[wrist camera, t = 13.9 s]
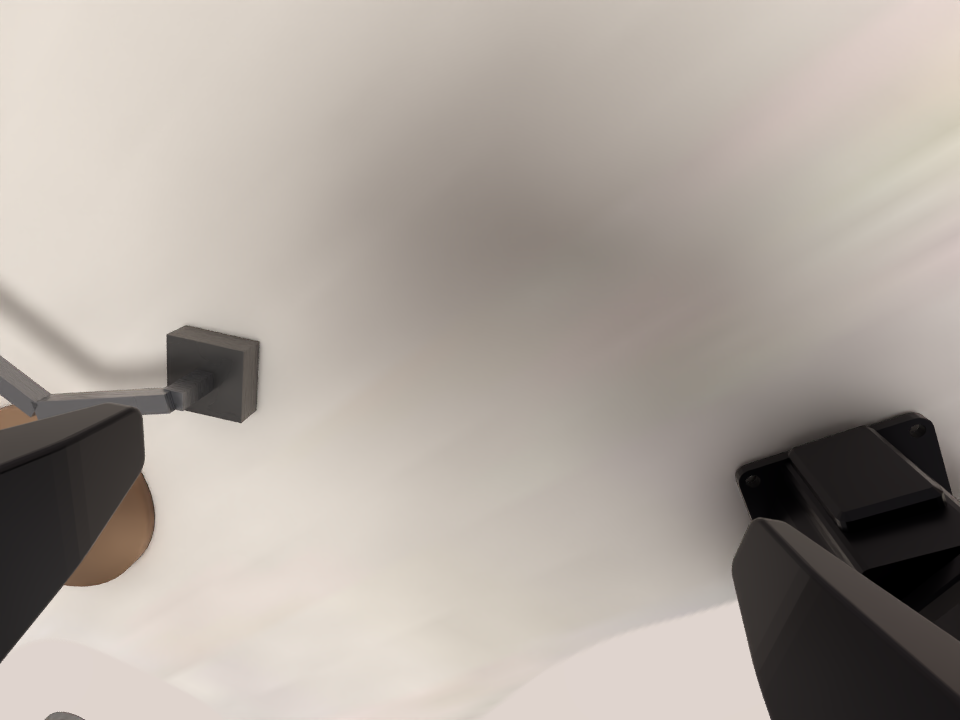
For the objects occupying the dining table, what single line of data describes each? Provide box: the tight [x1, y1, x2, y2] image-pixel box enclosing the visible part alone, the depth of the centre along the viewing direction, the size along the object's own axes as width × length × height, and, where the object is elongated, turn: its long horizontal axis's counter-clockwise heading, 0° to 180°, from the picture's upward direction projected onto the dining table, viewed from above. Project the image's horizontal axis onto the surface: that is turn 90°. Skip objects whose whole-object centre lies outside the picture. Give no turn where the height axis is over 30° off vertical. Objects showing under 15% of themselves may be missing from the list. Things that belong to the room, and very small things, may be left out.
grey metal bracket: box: [0, 326, 259, 423], centre depth 21 cm, size 18×4×3 cm, turn 79°
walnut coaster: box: [0, 405, 154, 586], centre depth 25 cm, size 9×9×1 cm
